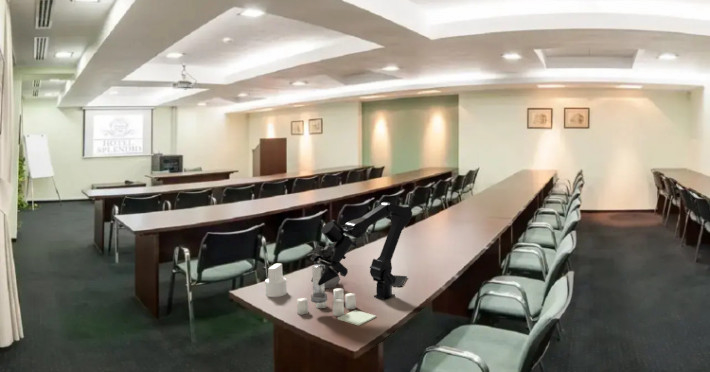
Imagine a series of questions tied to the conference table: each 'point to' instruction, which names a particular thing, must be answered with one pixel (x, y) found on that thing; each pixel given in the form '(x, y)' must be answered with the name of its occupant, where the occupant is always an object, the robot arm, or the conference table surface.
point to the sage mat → (356, 317)
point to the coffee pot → (332, 282)
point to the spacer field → (337, 303)
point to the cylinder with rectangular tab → (275, 282)
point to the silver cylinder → (318, 290)
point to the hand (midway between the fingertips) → (315, 283)
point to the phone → (399, 280)
